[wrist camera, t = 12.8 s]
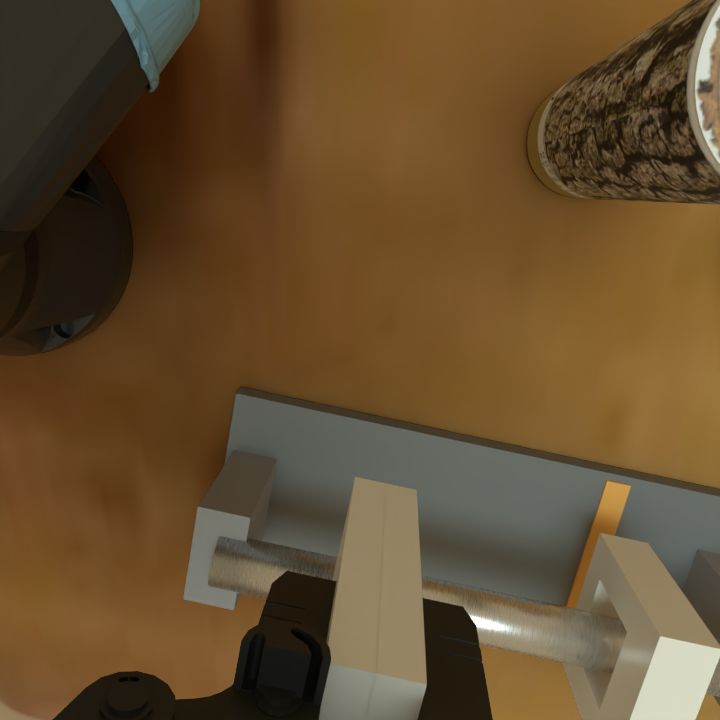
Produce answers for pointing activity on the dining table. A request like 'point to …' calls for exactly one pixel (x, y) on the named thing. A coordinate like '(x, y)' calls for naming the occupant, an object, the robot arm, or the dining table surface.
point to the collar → (643, 639)
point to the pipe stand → (448, 503)
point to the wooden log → (639, 118)
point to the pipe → (485, 607)
